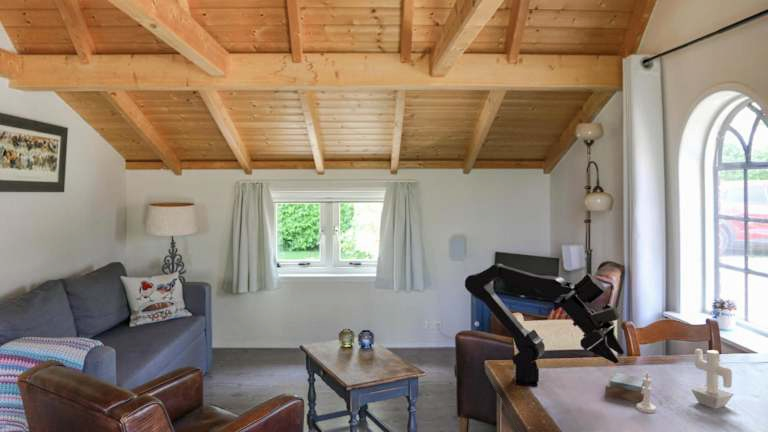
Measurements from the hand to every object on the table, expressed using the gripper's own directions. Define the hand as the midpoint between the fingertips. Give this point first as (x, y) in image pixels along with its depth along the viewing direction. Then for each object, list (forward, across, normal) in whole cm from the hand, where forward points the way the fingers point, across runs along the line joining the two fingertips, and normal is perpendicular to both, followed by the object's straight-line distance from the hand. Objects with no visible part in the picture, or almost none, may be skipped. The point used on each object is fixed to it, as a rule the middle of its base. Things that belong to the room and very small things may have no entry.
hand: (620, 358), depth 135 cm
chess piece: (+14, 0, +4) cm, 14 cm away
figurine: (+24, +14, -6) cm, 28 cm away
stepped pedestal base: (+10, +7, +8) cm, 15 cm away
